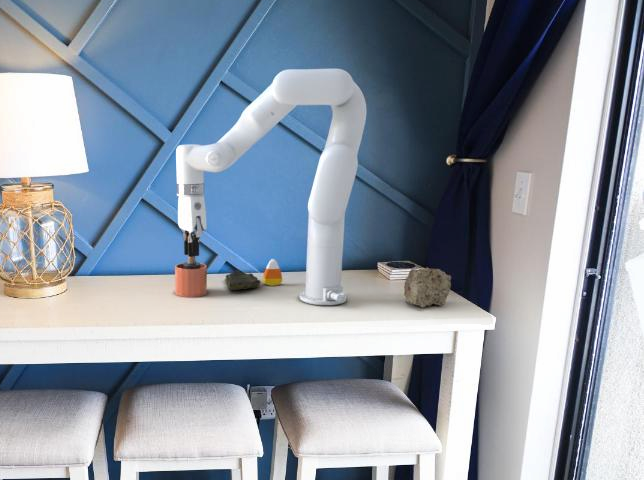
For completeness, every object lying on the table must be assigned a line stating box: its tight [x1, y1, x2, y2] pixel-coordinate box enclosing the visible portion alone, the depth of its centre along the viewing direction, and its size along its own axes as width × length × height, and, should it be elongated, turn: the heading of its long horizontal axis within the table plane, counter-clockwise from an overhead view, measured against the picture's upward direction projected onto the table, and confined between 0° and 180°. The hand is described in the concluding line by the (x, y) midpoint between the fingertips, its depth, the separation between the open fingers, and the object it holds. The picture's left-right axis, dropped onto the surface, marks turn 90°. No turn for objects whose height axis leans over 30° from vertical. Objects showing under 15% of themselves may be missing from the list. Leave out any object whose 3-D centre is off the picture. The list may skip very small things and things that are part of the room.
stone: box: [224, 269, 261, 291], centre depth 191 cm, size 19×4×10 cm
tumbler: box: [174, 262, 208, 298], centre depth 182 cm, size 9×9×8 cm
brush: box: [182, 235, 201, 269], centre depth 181 cm, size 5×5×13 cm
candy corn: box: [262, 258, 283, 287], centre depth 191 cm, size 6×3×8 cm, turn 93°
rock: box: [403, 267, 452, 308], centre depth 171 cm, size 11×12×10 cm
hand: (191, 254), depth 180 cm, fingers closed on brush
